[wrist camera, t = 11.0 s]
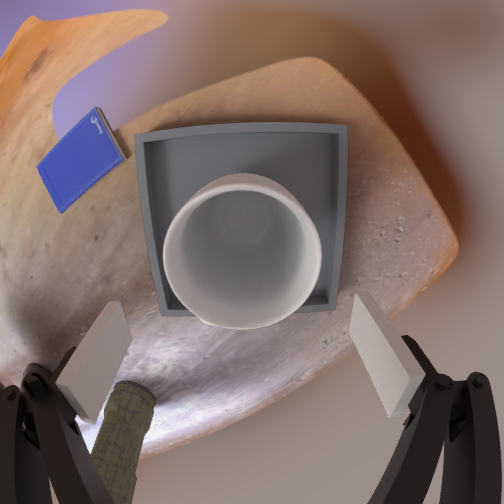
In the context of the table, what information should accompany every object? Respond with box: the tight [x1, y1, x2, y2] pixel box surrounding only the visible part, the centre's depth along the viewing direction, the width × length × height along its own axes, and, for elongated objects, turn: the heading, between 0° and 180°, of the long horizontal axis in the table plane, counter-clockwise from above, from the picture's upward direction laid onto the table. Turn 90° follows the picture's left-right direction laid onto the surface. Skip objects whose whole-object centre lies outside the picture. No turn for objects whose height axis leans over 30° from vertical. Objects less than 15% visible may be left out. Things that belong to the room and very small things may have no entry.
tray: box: [134, 122, 348, 316], centre depth 30 cm, size 22×22×3 cm
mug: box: [163, 173, 322, 330], centre depth 25 cm, size 15×11×13 cm
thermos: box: [90, 381, 156, 504], centre depth 28 cm, size 9×12×35 cm
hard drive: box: [37, 107, 126, 214], centre depth 28 cm, size 2×8×12 cm
